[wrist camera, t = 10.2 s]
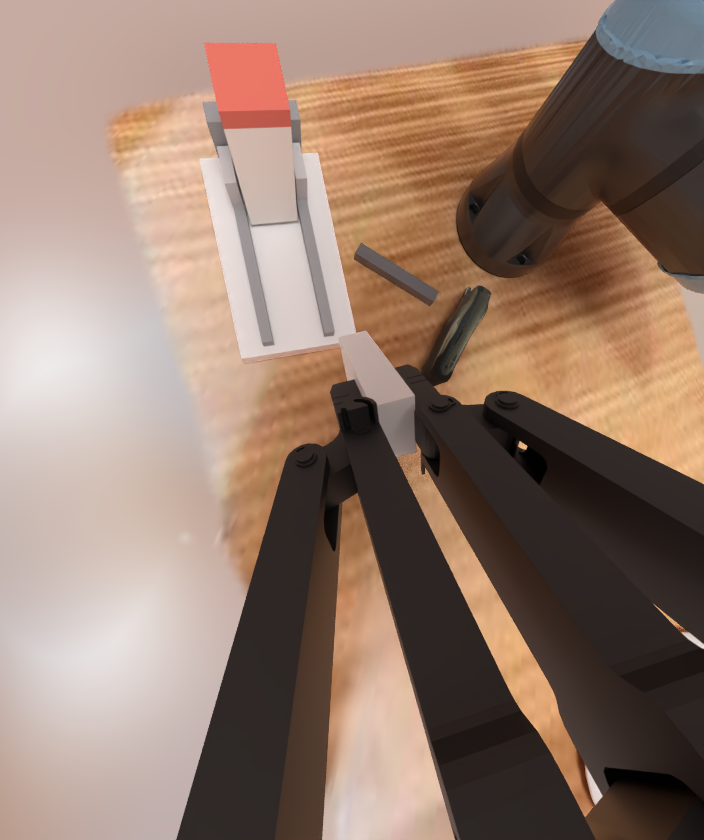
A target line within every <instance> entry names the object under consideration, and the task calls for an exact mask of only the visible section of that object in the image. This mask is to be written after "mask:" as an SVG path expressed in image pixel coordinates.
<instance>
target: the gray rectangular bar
mask: <svg viewBox="0 0 704 840" xmlns="http://www.w3.org/2000/svg"><path fill="white" fill-rule="evenodd" d="M354 259H355V260H356V261H358V262H359V263H361V264H363V265H364V266H366V267H368V268H369V269H371V270H372V271H374V272H376V273H377V274H379V275H380V276H382V277H384V278H385V279H387V280H389V281H390V282H392V283H393V284H395V285H397V286H398V287H400V288H401V289H403V290H405V291H406V292H408V293H410V294H411V295H413V296H414V297H416V298H418V299H419V300H421V301H422V302H424V303H426V304H427V305H429V306H430V305H431V304H432V303H433V302H434V300H435V298H436V296H437V294H438V292H439V291H437V290H435V289H434V288H432V287H431V286H429V285H427V284H426V283H424V282H423V281H421V280H419V279H418V278H416V277H415V276H413V275H412V274H410V273H408V272H407V271H405V270H404V269H402V268H400V267H399V266H397V265H396V264H394V263H392V262H391V261H389V260H388V259H386V258H384V257H383V256H381V255H380V254H378V253H376V252H375V251H373V250H372V249H370V248H368V247H367V246H365V245H364V244H362V243H361V244H360V246H359V248H358V249H357V251H356V253H355V257H354Z"/></svg>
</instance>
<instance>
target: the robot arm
mask: <svg viewBox="0 0 704 840" xmlns="http://www.w3.org/2000/svg"><path fill="white" fill-rule="evenodd" d="M600 202H603V203H604V204H605V205H606V206H607V207H608V208H609V209H610V210H611V211H612V213H613V214H614V215H615V216H616V217H617V218H618V219H619V220H620V221H621V222H622V223H623V224H624V225H625V226H626V228H627V229H628V230H629V231H630V232H631V233H632V234H633V235H634V236H635V237H636V238H637V239H638V240H639V241H640V243H641V244H642V245H643V246H644V247H645V248H646V249H647V250H648V251H649V252H650V253H651V254H652V255H653V256H654V258H655V259H656V260H657V261H658V263H657V264H658V266H659V268H660V269H661V270H662V271H663V272H664V273H667V274H668V275H669V276H672V277H674V278H675V279H676V280H677V281H678V282H679V283H680V284H681V285H682V286H683V287H685V288H686V289H689V290H691V291H694V292H697V293H702V294H704V0H615V1H614V2H613V3H612V4H611V5H610V6H609V7H608V8H607V9H606V11H605V12H604V14H603V15H602V17H601V18H600V20H599V22H598V26H597V28H596V30H595V32H594V33H593V34H592V36H591V37H590V39H589V40H588V41H587V43H586V44H585V46H584V47H583V48H582V50H581V51H580V53H579V54H578V56H577V57H576V58H575V60H574V61H573V63H572V64H571V66H570V67H569V68H568V70H567V71H566V73H565V74H564V75H563V77H562V78H561V80H560V81H559V82H558V84H557V85H556V87H555V88H554V89H553V91H552V92H551V94H550V95H549V96H548V98H547V99H546V101H545V102H544V103H543V105H542V106H541V108H540V109H539V110H538V112H537V113H536V114H535V116H534V117H533V119H532V120H531V121H530V123H529V125H528V126H527V127H526V129H525V130H524V132H523V133H522V134H521V136H520V137H519V139H518V140H517V141H516V142H515V143H514V144H513V145H512V146H511V147H510V148H508V149H507V150H506V151H505V152H504V153H502V154H501V155H500V156H499V157H498V158H497V159H495V160H494V161H493V162H492V163H491V164H490V165H488V166H487V167H486V168H485V169H484V170H483V171H481V172H480V173H479V174H478V175H477V176H476V178H475V179H474V180H473V181H472V183H471V184H470V186H469V187H468V189H467V191H466V192H465V194H464V195H463V197H462V199H461V201H460V204H459V207H458V212H457V228H458V233H459V237H460V240H461V242H462V244H463V246H464V248H465V250H466V252H467V253H468V255H469V256H470V257H471V258H472V259H473V261H474V262H475V263H477V264H478V265H479V266H480V267H481V268H483V269H484V270H486V271H488V272H490V273H492V274H494V275H497V276H501V277H519V276H523V275H526V274H528V273H530V272H531V271H533V270H534V269H536V268H537V267H538V266H540V265H541V264H542V263H544V262H545V261H546V260H547V259H549V258H550V257H551V256H552V254H553V253H554V252H555V251H556V249H557V248H558V247H559V245H560V244H561V243H562V242H563V240H564V239H565V238H566V236H567V235H568V234H569V232H570V231H571V230H572V229H573V227H574V226H575V225H576V223H577V222H578V221H579V219H580V218H581V217H582V216H583V215H584V214H585V213H587V212H588V211H589V210H590V209H592V208H593V207H594V206H595V205H597V204H598V203H600ZM338 338H339V343H340V348H341V353H342V357H343V362H344V367H345V372H346V377H347V381H346V382H342V383H338V384H334V385H333V386H332V389H331V391H330V393H331V397H332V401H333V405H334V409H335V412H336V416H337V420H338V423H339V427H340V431H339V434H338V436H337V437H336V438H335V439H334V440H333V441H332V442H330V443H329V444H327V445H326V446H324V447H322V446H320V445H318V444H305V445H301V446H299V447H297V448H296V449H294V450H293V451H292V452H291V453H290V454H289V455H288V457H287V459H286V461H285V465H284V468H283V472H282V475H281V478H280V482H279V485H278V489H277V492H276V496H275V499H274V503H273V506H272V510H271V513H270V517H269V520H268V524H267V527H266V531H265V534H264V537H263V541H262V544H261V548H260V551H259V555H258V558H257V562H256V565H255V569H254V572H253V576H252V579H251V583H250V586H249V589H248V593H247V596H246V600H245V603H244V607H243V611H242V614H241V618H240V621H239V624H238V628H237V631H236V635H235V638H234V642H233V645H232V649H231V652H230V655H229V659H228V662H227V666H226V670H225V673H224V676H223V680H222V683H221V687H220V690H219V694H218V697H217V701H216V704H215V708H214V711H213V714H212V718H211V721H210V725H209V728H208V732H207V735H206V739H205V742H204V746H203V749H202V753H201V756H200V760H199V763H198V766H197V770H196V773H195V777H194V780H193V784H192V787H191V791H190V795H189V798H188V801H187V805H186V808H185V812H184V815H183V819H182V822H181V825H180V829H179V833H178V836H177V839H176V840H322V831H323V815H324V798H325V782H326V765H327V749H328V732H329V716H330V699H331V683H332V666H333V650H334V633H335V617H336V600H337V584H338V567H339V550H340V534H341V517H342V502H343V501H345V500H346V499H348V498H349V497H351V496H353V495H354V494H356V493H357V492H358V496H359V499H360V503H361V506H362V510H363V513H364V517H365V520H366V524H367V527H368V531H369V535H370V538H371V542H372V545H373V549H374V552H375V556H376V559H377V563H378V566H379V570H380V574H381V577H382V581H383V584H384V588H385V591H386V595H387V598H388V602H389V605H390V609H391V612H392V616H393V620H394V623H395V627H396V630H397V634H398V637H399V641H400V644H401V648H402V651H403V655H404V659H405V662H406V666H407V669H408V673H409V676H410V680H411V683H412V687H413V690H414V694H415V698H416V701H417V705H418V708H419V712H420V715H421V719H422V722H423V726H424V729H425V733H426V737H427V740H428V744H429V748H430V751H431V755H432V759H433V762H434V766H435V770H436V773H437V777H438V780H439V784H440V788H441V791H442V795H443V798H444V802H445V805H446V809H447V812H448V816H449V820H450V823H451V827H452V830H453V834H454V837H455V840H704V649H703V648H701V647H699V646H698V645H696V644H695V643H693V642H692V641H690V640H689V639H688V638H686V637H685V636H684V635H683V634H682V633H681V632H680V631H679V630H678V629H677V628H676V627H675V626H674V625H673V624H672V623H671V622H670V621H669V620H668V619H667V618H666V617H665V616H664V615H663V614H662V613H661V612H660V611H659V610H658V609H657V608H656V607H655V605H656V606H657V607H658V608H659V609H661V610H662V611H663V612H664V613H666V614H667V615H668V616H669V617H671V618H672V619H673V620H674V621H676V622H677V623H678V624H679V625H680V626H682V627H683V628H684V629H685V630H687V631H688V632H689V633H690V634H692V635H693V636H694V637H695V638H697V639H698V640H699V641H700V642H702V643H703V644H704V484H702V483H700V482H698V481H696V480H694V479H692V478H690V477H688V476H686V475H684V474H682V473H680V472H678V471H676V470H674V469H672V468H670V467H668V466H666V465H664V464H662V463H660V462H657V461H655V460H653V459H651V458H649V457H647V456H645V455H643V454H641V453H639V452H637V451H635V450H633V449H631V448H629V447H627V446H625V445H623V444H621V443H619V442H617V441H615V440H613V439H611V438H609V437H607V436H605V435H603V434H601V433H599V432H597V431H594V430H592V429H590V428H588V427H586V426H584V425H582V424H580V423H578V422H576V421H574V420H572V419H570V418H568V417H566V416H564V415H562V414H560V413H558V412H556V411H554V410H552V409H550V408H548V407H546V406H544V405H542V404H540V403H538V402H536V401H534V400H531V399H529V398H527V397H525V396H523V395H521V394H518V393H516V392H511V391H496V392H493V393H490V394H489V395H488V396H486V399H485V402H484V404H479V405H462V404H461V403H460V402H459V401H458V400H456V399H455V398H453V397H450V396H447V395H440V394H439V392H438V391H437V390H436V389H435V388H434V387H433V386H432V385H431V384H430V382H429V381H428V380H426V378H425V377H424V376H423V375H422V374H421V372H420V371H419V370H418V369H417V368H415V367H412V366H410V365H404V366H400V367H397V368H394V367H393V366H392V364H391V363H390V362H389V360H388V359H387V358H386V356H385V355H384V354H383V352H382V351H381V350H380V348H379V347H378V346H377V344H376V343H375V342H374V340H373V339H372V338H371V336H370V335H369V334H368V332H367V331H366V330H365V331H361V332H357V333H353V334H349V335H345V336H341V337H338ZM519 441H521V442H522V443H524V444H525V445H527V446H528V447H527V449H526V450H523V449H521V448H519V447H518V444H519ZM416 443H417V444H418V446H419V448H420V449H421V472H422V475H423V474H425V468H426V469H427V471H428V473H429V474H430V476H431V478H432V480H433V481H434V483H435V485H436V487H437V488H438V490H439V492H440V494H441V495H442V497H443V499H444V501H445V502H446V504H447V506H448V508H449V509H450V511H451V513H452V515H453V516H454V518H455V520H456V522H457V523H458V525H459V527H460V529H461V530H462V532H463V534H464V535H465V537H466V539H467V541H468V542H469V544H470V546H471V548H472V549H473V551H474V553H475V555H476V556H477V558H478V560H479V562H480V563H481V565H482V567H483V569H484V570H485V572H486V574H487V576H488V577H489V579H490V581H491V583H492V584H493V586H494V588H495V590H496V591H497V593H498V595H499V596H500V598H501V600H502V602H503V603H504V605H505V607H506V609H507V610H508V612H509V614H510V616H511V617H512V619H513V621H514V623H515V624H516V626H517V628H518V630H519V631H520V633H521V635H522V637H523V638H524V640H525V642H526V644H527V645H528V647H529V649H530V651H531V652H532V654H533V656H534V657H535V659H536V661H537V663H538V664H539V666H540V668H541V670H542V671H543V673H544V675H545V677H546V678H547V680H548V682H549V684H550V686H551V688H552V690H553V692H554V694H555V697H556V700H557V704H558V709H559V713H560V716H561V718H562V721H563V723H564V726H565V728H566V730H567V732H568V734H569V736H570V738H571V740H572V742H573V744H574V745H575V747H576V749H577V751H578V753H579V754H580V756H581V758H582V760H583V762H584V763H585V765H586V767H587V769H588V771H589V772H590V774H591V776H592V778H593V780H594V781H595V783H596V785H597V787H598V789H599V790H600V792H601V794H602V796H603V797H602V798H601V799H600V800H599V801H598V803H597V804H596V805H595V806H594V807H593V809H592V810H591V811H590V812H589V814H588V815H587V816H586V817H584V815H583V813H582V811H581V809H580V807H579V805H578V803H577V801H576V799H575V798H574V796H573V794H572V792H571V790H570V788H569V786H568V784H567V782H566V780H565V778H564V776H563V774H562V773H561V771H560V769H559V767H558V765H557V763H556V762H555V760H554V758H553V756H552V754H551V752H550V751H549V749H548V748H547V746H546V744H545V743H544V741H543V740H542V738H541V736H540V735H539V733H538V732H537V730H536V729H535V728H534V726H533V725H532V724H531V723H530V721H529V720H528V719H527V718H526V716H525V715H524V714H523V713H522V711H521V710H520V708H519V707H518V705H517V703H516V702H515V700H514V698H513V697H512V695H511V693H510V691H509V689H508V687H507V685H506V683H505V681H504V679H503V677H502V675H501V673H500V670H499V668H498V666H497V664H496V662H495V660H494V658H493V656H492V654H491V652H490V650H489V648H488V646H487V644H486V642H485V640H484V637H483V635H482V633H481V631H480V629H479V627H478V625H477V623H476V621H475V619H474V617H473V615H472V613H471V611H470V609H469V607H468V604H467V602H466V600H465V598H464V596H463V594H462V592H461V590H460V588H459V586H458V584H457V582H456V580H455V578H454V576H453V573H452V571H451V569H450V567H449V565H448V563H447V561H446V559H445V557H444V555H443V553H442V551H441V549H440V547H439V545H438V543H437V540H436V538H435V536H434V534H433V532H432V530H431V528H430V526H429V524H428V522H427V520H426V518H425V516H424V514H423V512H422V510H421V507H420V505H419V503H418V501H417V499H416V497H415V495H414V493H413V491H412V489H411V487H410V485H409V483H408V481H407V479H406V477H405V474H404V472H403V470H402V468H401V466H400V464H399V462H398V460H397V458H396V457H400V456H404V455H407V454H411V453H414V452H416ZM654 604H655V605H654Z"/></svg>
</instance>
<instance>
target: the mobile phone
mask: <svg viewBox="0 0 704 840" xmlns="http://www.w3.org/2000/svg"><path fill="white" fill-rule="evenodd" d="M470 291H471V288H470V287H468V288H467V289H466V290H465V293H464V295H463V298H462V300H461V301H460V303H459V305H458V307H457V309H456V310H455V312H454V313H453V314H452V315H451V316H450V317H449V319H448V320H447V322H446V324H445V326H444V328H443V331H442V333H441V334H440V336H439V338H438V340H437V342H436V344H435V346H434V348H433V350H432V352H431V354H430V356H429V358H428V360H427V362H426V364H425V366H424V368H423V371H422V375H423V376H424V377H425V378H426V380H428V381H429V382H430V384H431V385H432V386H436V385H438V384H441V383H444V382H447V381H448V380H449V379H450V378H451V375H452V373H453V370H454V368H455V366H456V364H457V362H458V360H459V358H460V356H461V354H462V352H463V350H464V348H465V346H466V344H467V342H468V340H469V338H470V336H471V334H472V333H473V332H474V330H475V329H476V327H477V326H478V324H479V323H480V321H481V320H482V319H483V317H484V315H485V313H486V311H487V308H488V302H489V299H490V295H491V293H490V291H489V290H487V289H486V288H484V287H483V286H477V287H476V288H474V289H473V290H472V291H471V292H470Z"/></svg>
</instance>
